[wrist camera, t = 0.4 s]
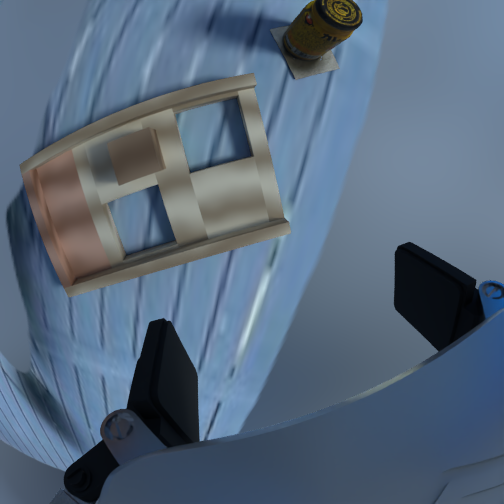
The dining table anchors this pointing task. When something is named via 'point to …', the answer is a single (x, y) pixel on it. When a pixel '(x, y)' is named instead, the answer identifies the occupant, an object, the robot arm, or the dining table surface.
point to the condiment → (317, 35)
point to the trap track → (169, 181)
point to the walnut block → (136, 155)
